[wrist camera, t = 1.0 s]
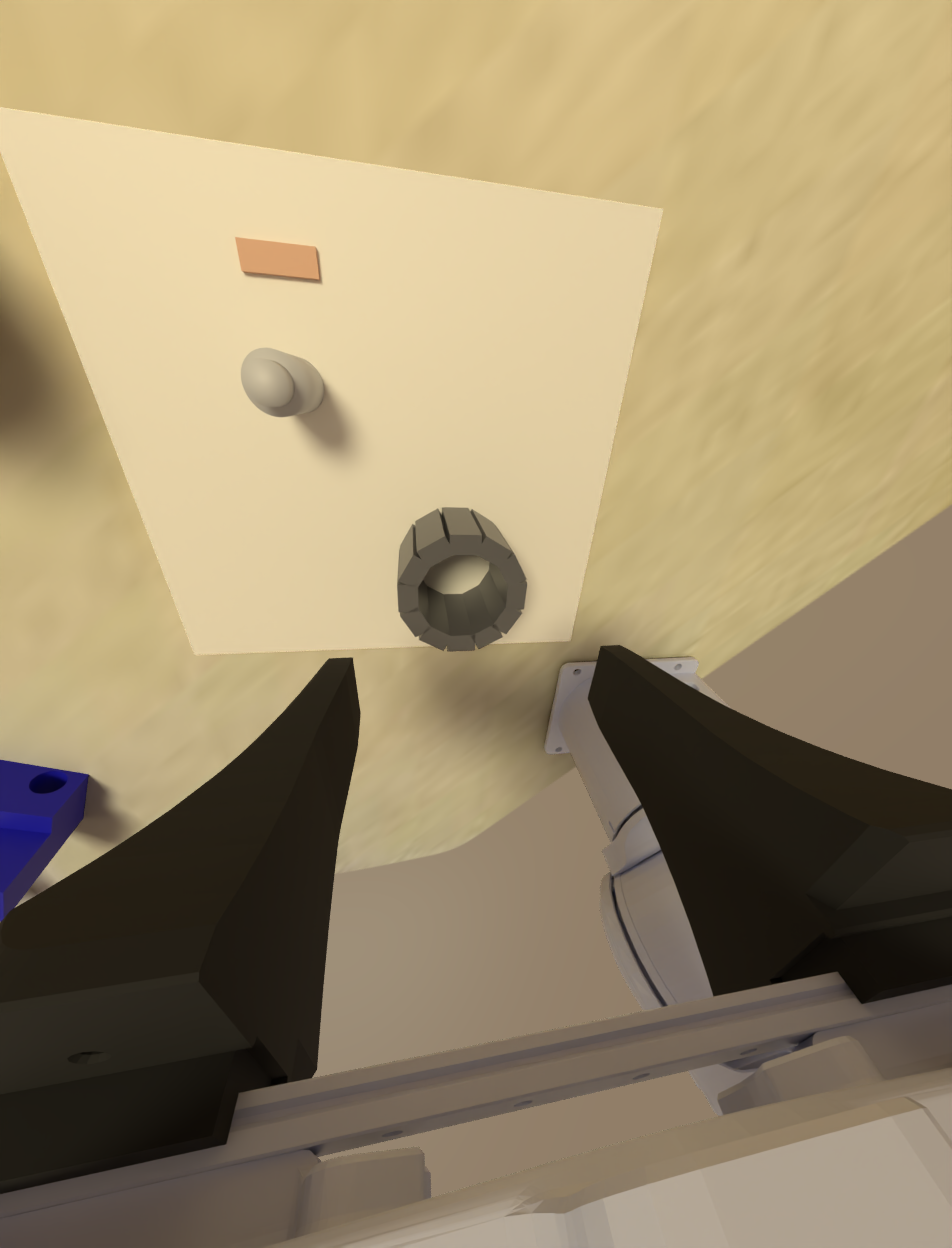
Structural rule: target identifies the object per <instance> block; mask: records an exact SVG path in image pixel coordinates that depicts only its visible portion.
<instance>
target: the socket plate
mask: <svg viewBox="0 0 952 1248" xmlns="http://www.w3.org/2000/svg"><path fill="white" fill-rule="evenodd" d="M0 152H1V155H2V158H3V160H4V163H5V165H6V168H7V171H8V173H9V176H10V178H11V181H12V184H13V186H14V189H15V191H16V194H17V196H18V199H19V202H20V204H21V207H22V209H23V212H24V215H25V217H26V220H27V222H28V225H29V228H30V230H31V233H32V235H33V238H34V240H35V243H36V246H37V248H38V251H39V253H40V256H41V259H42V261H43V264H44V266H45V269H46V272H47V274H48V277H49V279H50V282H51V284H52V287H53V290H54V292H55V295H56V297H57V300H58V303H59V305H60V308H61V310H62V313H63V316H64V318H65V321H66V323H67V326H68V328H69V331H70V334H71V336H72V339H73V341H74V344H75V347H76V349H77V352H78V354H79V357H80V360H81V362H82V365H83V367H84V370H85V372H86V375H87V378H88V380H89V383H90V385H91V388H92V391H93V393H94V396H95V398H96V401H97V403H98V406H99V409H100V411H101V414H102V416H103V419H104V422H105V424H106V427H107V429H108V432H109V435H110V437H111V440H112V442H113V445H114V447H115V450H116V453H117V455H118V458H119V460H120V463H121V466H122V468H123V471H124V473H125V476H126V479H127V481H128V484H129V486H130V489H131V491H132V494H133V497H134V499H135V502H136V504H137V507H138V510H139V512H140V515H141V517H142V520H143V523H144V525H145V528H146V530H147V533H148V535H149V538H150V541H151V543H152V546H153V548H154V551H155V554H156V556H157V559H158V561H159V564H160V567H161V569H162V572H163V574H164V577H165V579H166V582H167V585H168V587H169V590H170V592H171V595H172V598H173V600H174V603H175V605H176V608H177V611H178V613H179V616H180V618H181V621H182V623H183V626H184V629H185V631H186V634H187V636H188V639H189V642H190V644H191V647H192V649H193V652H194V655H211V654H238V653H265V652H292V651H318V650H345V649H372V648H399V647H426V646H431V645H429V644H427V643H425V642H422V641H420V640H419V636H417V637H415V636H414V635H413V633H412V632H411V631H410V629H409V628H408V626H407V625H406V624H405V622H404V621H403V620H402V618H401V617H400V612H398V594H397V578H398V561H399V549H400V545H401V543H402V541H403V540H404V538H405V536H406V534H407V533H408V531H409V529H410V527H411V525H412V524H413V525H415V521H416V520H418V519H420V518H422V517H423V516H425V515H427V514H429V513H430V512H432V511H434V510H436V509H439V511H440V513H441V515H442V507H456V508H468V509H469V510H470V511H471V510H472V509H473V510H475V511H476V512H478V513H479V514H481V515H482V516H484V517H486V518H487V519H489V520H490V521H492V522H493V523H494V524H495V525H496V526H497V528H498V529H499V531H500V533H501V534H502V536H503V537H504V539H505V540H506V542H507V543H508V545H509V546H510V548H511V549H512V551H513V552H514V554H515V556H516V558H517V560H518V562H519V564H520V566H521V568H522V570H523V572H524V574H525V577H526V579H527V580H526V582H527V583H528V584H527V591H526V598H525V606H524V609H522V610H521V612H522V614H521V616H520V617H519V618H518V620H517V621H516V622H515V624H514V625H513V626H512V628H511V629H510V630H509V631H508V633H507V634H504V633H502V632H501V633H502V636H503V637H502V638H500V639H498V640H496V641H494V642H492V643H490V644H507V643H534V642H561V641H571V636H572V631H573V627H574V622H575V617H576V613H577V608H578V603H579V599H580V594H581V589H582V585H583V580H584V576H585V571H586V566H587V562H588V557H589V552H590V548H591V543H592V538H593V534H594V529H595V524H596V520H597V515H598V510H599V506H600V501H601V497H602V492H603V487H604V483H605V478H606V473H607V469H608V464H609V459H610V455H611V450H612V445H613V441H614V436H615V431H616V427H617V422H618V417H619V413H620V408H621V404H622V399H623V394H624V390H625V385H626V380H627V376H628V371H629V366H630V362H631V357H632V352H633V348H634V343H635V338H636V334H637V329H638V325H639V320H640V315H641V311H642V306H643V301H644V297H645V292H646V287H647V283H648V278H649V273H650V269H651V264H652V259H653V255H654V250H655V245H656V241H657V236H658V232H659V227H660V222H661V218H662V213H663V209H662V208H655V207H649V206H642V205H636V204H629V203H623V202H616V201H610V200H603V199H597V198H590V197H584V196H577V195H571V194H564V193H558V192H551V191H544V190H538V189H531V188H525V187H518V186H512V185H505V184H499V183H492V182H486V181H479V180H473V179H466V178H460V177H453V176H447V175H440V174H434V173H427V172H421V171H414V170H408V169H401V168H395V167H388V166H382V165H375V164H369V163H362V162H356V161H349V160H342V159H336V158H329V157H323V156H316V155H310V154H303V153H297V152H290V151H284V150H277V149H271V148H264V147H258V146H251V145H245V144H238V143H232V142H225V141H219V140H212V139H206V138H199V137H193V136H186V135H180V134H173V133H167V132H160V131H154V130H147V129H140V128H134V127H127V126H121V125H114V124H108V123H101V122H95V121H88V120H82V119H75V118H69V117H62V116H56V115H49V114H43V113H36V112H30V111H23V110H17V109H10V108H4V107H0ZM488 570H489V562H488V561H487V560H485V559H483V558H481V557H480V556H478V555H453V556H451V557H449V558H447V559H445V560H443V561H442V562H440V563H438V564H436V565H434V566H432V567H430V569H429V571H428V572H427V574H426V576H425V577H424V579H423V581H424V582H425V584H426V585H427V586H428V587H430V588H432V589H434V590H436V591H438V592H440V593H442V594H463V593H465V592H466V591H468V590H470V589H472V588H474V587H476V586H478V585H479V584H480V582H481V581H482V579H483V578H484V576H485V575H486V573H487V572H488ZM475 645H476V644H475Z"/></svg>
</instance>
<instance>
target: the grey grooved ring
mask: <svg viewBox="0 0 952 1248" xmlns="http://www.w3.org/2000/svg"><path fill="white" fill-rule="evenodd" d="M453 555H478V556H480V557H481V558H483V559H485V560H487V561H488V562H489V570H488V572H487V573H486V575H485V576H484V578H483V579H482V581H481V582H480V584H479V585H478V586H476V587H474V588H472V589H470V590H468V591H466V592H465V593H463V594H442V593H440V592H438V591H436V590H434V589H432V588H430V587H428V586H427V585H426V584H425V582H424V581H423V579H424V577H425V576H426V574H427V572H428V571H429V569H430V567H432V566H434V565H436V564H438V563H440V562H442V561H443V560H445V559H447V558H449V557H451V556H453ZM526 580H527V579H526V577H525V574H524V572H523V570H522V568H521V566H520V564H519V562H518V560H517V558H516V556H515V554H514V552H513V551H512V549H511V548H510V546H509V545H508V543H507V542H506V540H505V539H504V537H503V536H502V534H501V533H500V531H499V529H498V528H497V526H496V525H495V524H494V523H493V522H492V521H490V520H489V519H487V518H486V517H484V516H482V515H481V514H479V513H478V512H476V511H475V510H473V509H472V510H471V511H470V510H469V509H468V508H456V507H442V515H441V513H440V511H439V509H436V510H434V511H432V512H430V513H429V514H427V515H425V516H423V517H422V518H420V519H418V520H416V521H415V525H413V524H412V525H411V527H410V529H409V531H408V533H407V534H406V536H405V538H404V540H403V541H402V543H401V545H400V549H399V561H398V578H397V594H398V612H400V617H401V618H402V620H403V621H404V622H405V624H406V625H407V626H408V628H409V629H410V631H411V632H412V633H413V635H414V636H415V637H417V636H419V640H420V641H422V642H425V643H427V644H429V645H431V646H434V647H436V648H438V649H441V650H444V649H445V648H446V646H447V651H472V650H475V644H476V646H477V647H478V649H480V648H482V647H484V646H486V645H488V644H490V643H492V642H494V641H496V640H498V639H500V638H502V637H503V636H502V633H504V634H507V633H508V631H509V630H510V629H511V628H512V626H513V625H514V624H515V622H516V621H517V620H518V618H519V617H520V616H521V614H522V612H521V610H522V609H524V606H525V598H526V591H527V584H528V583H527V582H526ZM501 632H502V633H501Z"/></svg>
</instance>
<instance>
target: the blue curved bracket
mask: <svg viewBox="0 0 952 1248" xmlns="http://www.w3.org/2000/svg"><path fill="white" fill-rule="evenodd" d="M88 776H89V774H83V773H77V772H71V771H65V770H59V769H53V768H47V767H41V766H35V765H29V764H23V763H17V762H11V761H5V760H0V922H1V921H2V920H3V919H4V918H5V916H6V915H7V914H8V913H9V911H11V910H12V909H14V908H15V906H16V905H17V904H18V903H19V901H20V900H21V899H22V897H23V896H24V895H25V893H26V892H27V891H28V889H29V888H30V887H31V886H32V884H33V883H34V882H35V880H36V879H37V878H38V876H39V875H40V874H41V873H42V871H43V870H44V869H45V867H46V866H47V865H48V863H49V862H50V861H51V859H52V858H53V857H54V856H55V854H56V853H57V852H58V850H59V849H60V848H61V846H62V845H63V844H64V842H65V841H66V840H67V839H68V837H69V836H70V835H71V833H72V832H73V831H74V829H75V828H76V827H77V826H78V824H79V823H80V822H81V820H82V819H83V815H84V807H85V800H86V792H87V784H88Z"/></svg>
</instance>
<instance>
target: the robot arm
mask: <svg viewBox="0 0 952 1248" xmlns="http://www.w3.org/2000/svg"><path fill="white" fill-rule="evenodd" d="M698 664H699V663H698V661H697V660H696V659H695V658H694V657H682V658H661V659H644V658H642V657H640V656H639V655H637V654H635V653H634V652H632V651H630V650H628V649H626V648H624V647H622V646H620V645H614V646H601V647H600V651H599V655H598V659H597V661H596V662H575V663H566V664H564V665H563V666H562V667H561V669H560V673H559V677H558V682H557V687H556V692H555V697H554V701H553V706H552V711H551V716H550V721H549V725H548V730H547V735H546V740H545V745H544V749H545V752H546V753H547V754H562V753H571V756H572V758H573V760H574V762H575V764H576V767H577V769H578V771H579V773H580V776H581V778H582V780H583V782H584V784H585V787H586V789H587V791H588V793H589V796H590V798H591V800H592V802H593V805H594V807H595V809H596V811H597V813H598V816H599V818H600V820H601V822H602V825H603V827H604V829H605V831H606V834H607V836H608V838H609V840H610V842H611V844H610V845H608V846H607V847H606V848H604V849H603V850H602V853H603V855H604V857H605V860H606V862H607V864H608V867H609V869H610V872H609V873H608V874H606V875H605V876H604V877H603V878H602V880H601V885H600V913H601V918H602V923H603V927H604V931H605V934H606V937H607V940H608V943H609V946H610V949H611V951H612V954H613V956H614V958H615V961H616V963H617V965H618V967H619V969H620V971H621V974H622V975H623V978H624V979H625V981H626V983H627V985H628V987H629V989H630V990H631V992H632V994H633V995H634V997H635V999H636V1000H637V1002H638V1003H639V1005H640V1006H641V1008H642V1009H643V1011H640V1012H636V1013H630V1014H626V1015H621V1016H616V1017H611V1018H606V1019H601V1020H596V1021H591V1022H586V1023H581V1024H576V1025H571V1026H566V1027H562V1028H557V1029H552V1030H547V1031H542V1032H537V1033H532V1034H527V1035H522V1036H518V1037H512V1038H507V1039H502V1040H497V1041H492V1042H488V1043H483V1044H478V1045H473V1046H468V1047H463V1048H458V1049H453V1050H449V1051H443V1052H439V1053H434V1054H428V1055H424V1056H419V1057H414V1058H409V1059H404V1060H399V1061H394V1062H389V1063H384V1064H379V1065H375V1066H370V1067H364V1068H359V1069H355V1070H349V1071H345V1072H340V1073H335V1074H330V1075H325V1076H320V1077H315V1078H312V1077H313V1075H314V1073H315V1072H316V1070H317V1062H318V1048H319V1035H320V1022H321V1009H322V997H323V996H322V995H323V984H324V973H325V962H326V951H327V940H328V930H329V920H330V910H331V900H332V891H333V882H334V873H335V864H336V856H337V847H338V840H339V834H340V829H341V823H342V819H343V814H344V809H345V805H346V800H347V795H348V791H349V786H350V781H351V776H352V772H353V767H354V762H355V757H356V752H357V747H358V737H359V726H360V707H359V700H358V692H357V685H356V678H355V671H354V664H353V658H332V659H328V660H327V661H326V662H325V664H324V665H323V666H322V667H321V668H320V670H319V671H318V672H317V673H316V675H315V676H314V677H313V678H312V679H311V681H310V682H309V683H308V684H307V685H306V687H305V688H304V689H303V690H302V691H301V693H300V694H299V695H298V696H297V697H296V698H295V699H294V700H293V702H292V703H291V704H290V705H289V706H288V707H287V708H286V709H285V711H284V712H283V713H282V714H281V715H280V716H279V717H278V718H277V719H276V720H275V721H274V722H273V723H272V724H271V725H270V726H269V727H268V728H267V729H266V730H265V731H264V732H263V733H262V734H261V735H260V736H259V737H258V738H257V739H256V740H255V741H254V742H253V743H252V744H251V745H250V746H249V747H248V748H247V749H246V750H244V751H243V752H242V753H241V754H240V755H239V756H238V757H237V758H235V759H234V760H233V761H232V762H231V763H230V764H229V765H227V766H226V767H225V768H224V769H223V770H222V771H220V772H219V773H218V774H217V775H215V776H214V777H213V778H212V779H210V780H209V781H208V782H206V783H205V784H204V785H202V786H201V787H200V788H198V789H197V790H196V791H194V792H193V793H192V794H191V795H189V796H188V797H187V798H185V799H184V800H183V801H181V802H180V803H179V804H177V805H176V806H175V807H173V808H172V809H171V810H169V811H168V812H166V813H165V814H164V815H162V816H161V817H159V818H158V819H156V820H155V821H154V822H152V823H151V824H149V825H148V826H146V827H145V828H143V829H142V830H140V831H139V832H137V833H136V834H134V835H133V836H131V837H130V838H128V839H127V840H125V841H124V842H122V843H121V844H119V845H118V846H116V847H115V848H113V849H112V850H110V851H109V852H107V853H105V854H104V855H102V856H101V857H99V858H98V859H96V860H94V861H93V862H91V863H89V864H88V865H86V866H84V867H83V868H81V869H79V870H78V871H76V872H74V873H73V874H71V875H69V876H68V877H66V878H65V879H63V880H61V881H60V882H58V883H56V884H55V885H53V886H51V887H50V888H48V889H46V890H45V891H43V892H41V893H40V894H38V895H36V896H35V897H33V898H31V899H30V900H28V901H26V902H24V903H23V904H21V905H19V906H17V907H16V908H14V909H12V910H11V911H9V913H8V914H7V915H6V916H5V918H4V919H3V920H2V921H1V922H0V1248H952V790H951V789H948V788H945V787H941V786H937V785H934V784H931V783H928V782H924V781H921V780H917V779H914V778H910V777H907V776H903V775H900V774H896V773H893V772H889V771H886V770H883V769H880V768H877V767H874V766H871V765H868V764H865V763H862V762H859V761H856V760H853V759H850V758H847V757H844V756H842V755H839V754H836V753H833V752H831V751H828V750H825V749H822V748H820V747H817V746H814V745H812V744H810V743H807V742H805V741H802V740H800V739H797V738H795V737H792V736H790V735H787V734H785V733H782V732H780V731H778V730H775V729H773V728H771V727H769V726H766V725H764V724H762V723H760V722H758V721H756V720H753V719H751V718H749V717H747V716H745V715H743V714H740V713H739V712H737V711H735V710H733V709H731V708H730V707H729V706H728V705H727V704H726V703H725V702H724V701H723V700H722V699H721V698H720V697H719V696H718V695H717V694H716V693H715V692H714V691H713V690H712V689H711V688H710V687H709V686H708V685H707V684H706V683H705V682H704V681H703V680H702V679H701V678H700V677H699V676H698V675H697V674H696V673H695V672H696V670H697V667H698ZM576 669H578V670H577V671H575V672H574V670H576ZM557 747H558V748H557ZM685 1071H688V1072H689V1073H690V1075H691V1077H692V1079H693V1080H694V1082H695V1084H696V1085H697V1086H698V1088H699V1089H700V1090H701V1091H702V1092H703V1093H704V1095H705V1097H706V1099H707V1100H708V1102H709V1104H710V1106H711V1108H712V1109H713V1111H714V1112H715V1113H716V1114H717V1115H718V1117H714V1118H710V1119H706V1120H702V1121H698V1122H694V1123H690V1124H686V1125H682V1126H679V1127H675V1128H671V1129H667V1130H663V1131H660V1132H656V1133H652V1134H649V1135H645V1136H642V1137H638V1138H634V1139H630V1140H627V1141H623V1142H620V1143H616V1144H612V1145H609V1146H605V1147H602V1148H598V1149H595V1150H592V1151H588V1152H585V1153H581V1154H578V1155H574V1156H571V1157H567V1158H564V1159H561V1160H557V1161H553V1162H550V1163H547V1164H543V1165H540V1166H537V1167H533V1168H530V1169H527V1170H523V1171H520V1172H517V1173H513V1174H510V1175H506V1176H503V1177H500V1178H496V1179H493V1180H490V1181H486V1182H483V1183H479V1184H476V1185H473V1186H469V1187H466V1188H463V1189H459V1190H456V1191H452V1192H449V1193H446V1194H443V1195H439V1196H435V1197H432V1198H431V1179H430V1178H431V1175H430V1172H429V1170H428V1169H427V1167H425V1163H424V1162H425V1161H424V1153H423V1152H422V1150H421V1149H420V1147H411V1148H402V1149H395V1150H386V1151H377V1152H369V1153H360V1154H353V1155H347V1156H341V1157H337V1158H334V1159H330V1160H326V1161H324V1162H321V1161H320V1159H319V1158H318V1157H319V1156H324V1155H328V1154H332V1153H336V1152H341V1151H345V1150H349V1149H354V1148H358V1147H362V1146H367V1145H371V1144H375V1143H380V1142H384V1141H388V1140H393V1139H397V1138H401V1137H405V1136H410V1135H414V1134H418V1133H423V1132H427V1131H431V1130H436V1129H440V1128H444V1127H449V1126H452V1125H457V1124H461V1123H466V1122H470V1121H474V1120H479V1119H483V1118H487V1117H491V1116H495V1115H500V1114H504V1113H509V1112H513V1111H517V1110H521V1109H526V1108H530V1107H534V1106H539V1105H543V1104H547V1103H552V1102H556V1101H560V1100H565V1099H569V1098H573V1097H577V1096H582V1095H586V1094H590V1093H595V1092H599V1091H603V1090H607V1089H612V1088H616V1087H620V1086H625V1085H629V1084H633V1083H638V1082H641V1081H646V1080H650V1079H655V1078H659V1077H663V1076H667V1075H672V1074H676V1073H680V1072H685Z"/></svg>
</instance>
